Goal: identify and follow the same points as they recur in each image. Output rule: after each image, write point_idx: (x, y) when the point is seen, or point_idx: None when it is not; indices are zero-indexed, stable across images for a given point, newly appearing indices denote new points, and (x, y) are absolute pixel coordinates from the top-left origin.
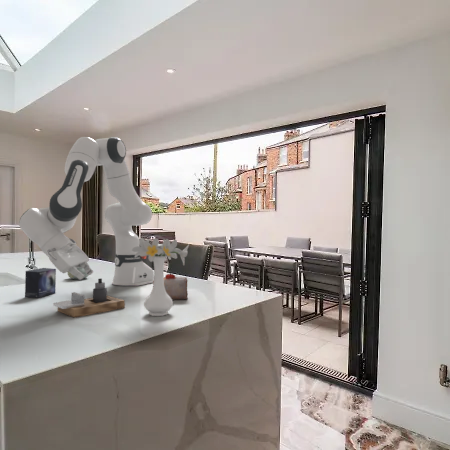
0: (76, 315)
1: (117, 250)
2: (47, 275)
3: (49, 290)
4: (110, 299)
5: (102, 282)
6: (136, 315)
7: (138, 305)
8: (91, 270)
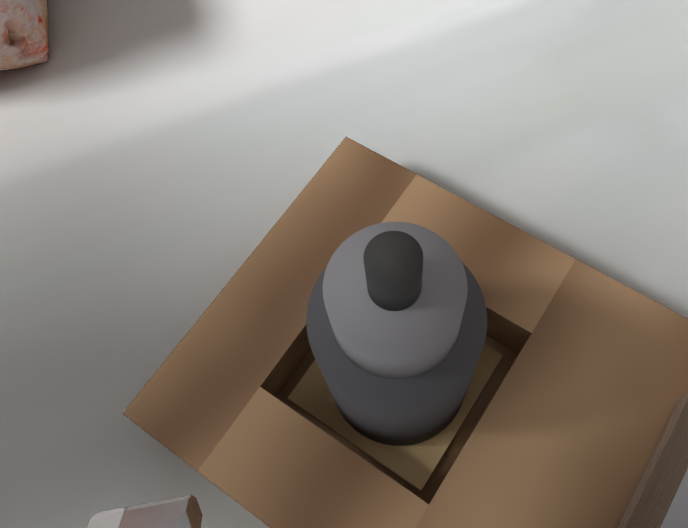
0: None
1: None
2: None
3: None
4: None
5: (331, 279)
6: (547, 19)
7: (243, 113)
8: (152, 524)
